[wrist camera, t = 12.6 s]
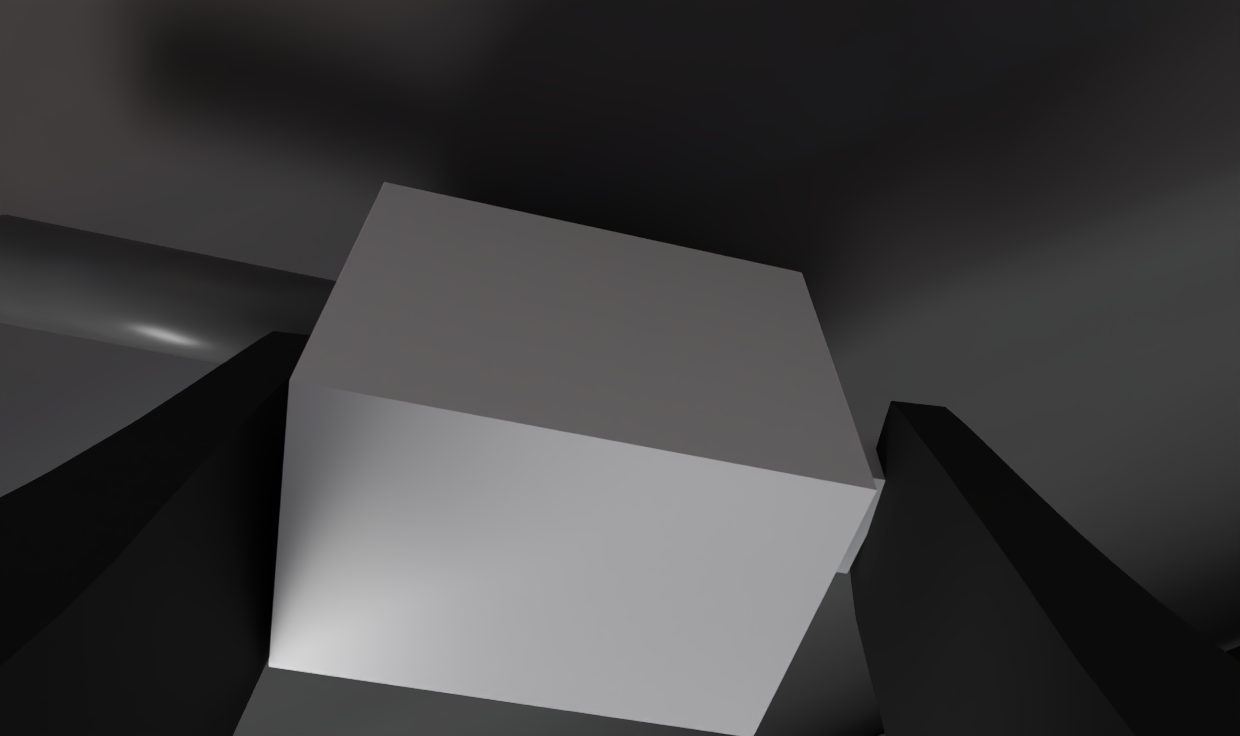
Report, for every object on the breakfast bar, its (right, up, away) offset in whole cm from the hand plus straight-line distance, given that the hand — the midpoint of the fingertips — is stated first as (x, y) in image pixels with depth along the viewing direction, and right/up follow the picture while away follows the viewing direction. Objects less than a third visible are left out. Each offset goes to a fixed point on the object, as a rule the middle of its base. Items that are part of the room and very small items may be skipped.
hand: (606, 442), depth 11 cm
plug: (-2, +1, +1) cm, 3 cm away
